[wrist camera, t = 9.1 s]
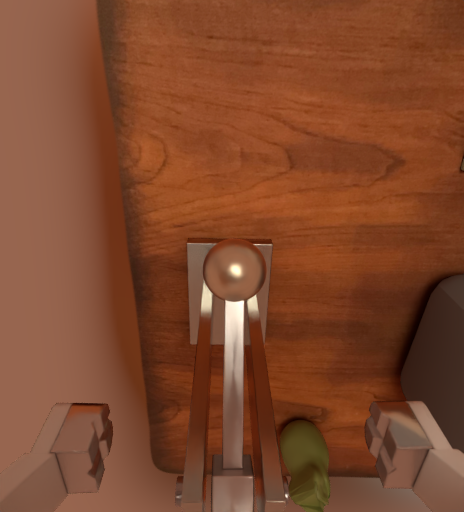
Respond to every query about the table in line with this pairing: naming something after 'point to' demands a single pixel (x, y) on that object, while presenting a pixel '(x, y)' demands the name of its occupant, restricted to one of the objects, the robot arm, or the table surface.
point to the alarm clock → (440, 360)
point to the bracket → (261, 410)
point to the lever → (233, 367)
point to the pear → (306, 465)
